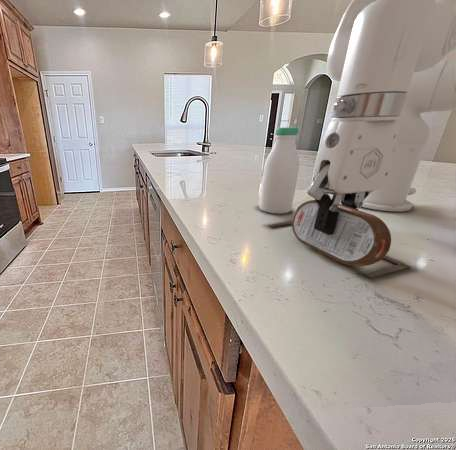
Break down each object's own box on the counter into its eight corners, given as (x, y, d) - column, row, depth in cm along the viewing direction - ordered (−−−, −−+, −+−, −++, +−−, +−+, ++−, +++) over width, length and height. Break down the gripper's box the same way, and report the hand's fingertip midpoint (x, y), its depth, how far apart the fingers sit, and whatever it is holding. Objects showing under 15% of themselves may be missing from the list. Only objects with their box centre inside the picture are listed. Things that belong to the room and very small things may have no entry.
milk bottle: (295, 215, 59) (312, 127, 52) (261, 213, 61) (273, 128, 53) (286, 205, 66) (300, 126, 59) (256, 204, 68) (266, 127, 60)
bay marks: (299, 220, 56) (299, 219, 56) (410, 267, 37) (411, 266, 37) (268, 226, 54) (268, 225, 54) (370, 279, 35) (370, 277, 35)
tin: (375, 276, 36) (406, 223, 33) (361, 275, 35) (392, 220, 32) (294, 235, 49) (311, 195, 46) (282, 234, 48) (299, 193, 45)
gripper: (348, 108, 29) (313, 246, 36) (438, 109, 33) (391, 232, 40) (297, 112, 36) (275, 228, 42) (377, 112, 40) (346, 217, 47)
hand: (332, 229), depth 41 cm, fingers closed on tin, 3 cm apart
